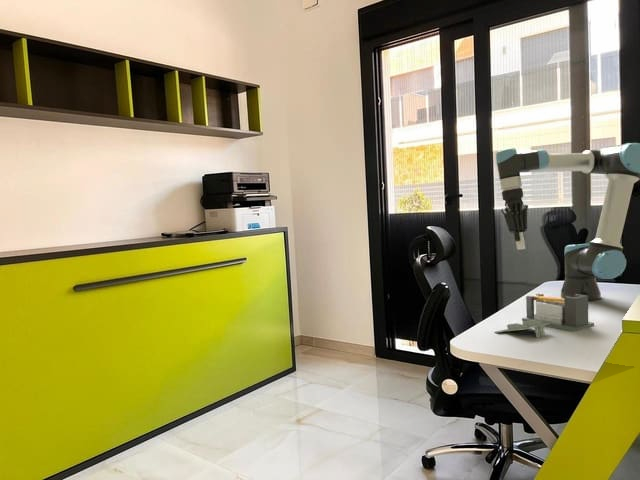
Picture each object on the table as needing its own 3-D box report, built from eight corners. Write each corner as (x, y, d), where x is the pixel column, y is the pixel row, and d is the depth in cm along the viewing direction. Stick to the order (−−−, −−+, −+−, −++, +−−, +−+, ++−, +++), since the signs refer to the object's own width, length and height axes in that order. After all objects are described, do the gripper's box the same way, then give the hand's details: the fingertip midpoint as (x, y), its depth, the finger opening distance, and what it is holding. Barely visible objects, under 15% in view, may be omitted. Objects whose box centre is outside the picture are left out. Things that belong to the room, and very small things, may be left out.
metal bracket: (555, 316, 157) (523, 323, 151) (560, 334, 156) (527, 342, 150) (521, 320, 170) (490, 327, 163) (525, 336, 169) (494, 344, 162)
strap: (533, 300, 175) (532, 296, 175) (538, 298, 177) (538, 295, 177) (573, 303, 162) (573, 299, 162) (579, 302, 163) (578, 298, 163)
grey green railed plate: (522, 320, 175) (522, 318, 175) (543, 315, 181) (543, 312, 181) (572, 331, 158) (572, 329, 158) (594, 325, 164) (594, 322, 164)
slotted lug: (564, 325, 163) (564, 296, 162) (577, 321, 166) (576, 294, 166) (575, 327, 160) (575, 298, 159) (588, 323, 163) (588, 295, 162)
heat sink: (524, 317, 176) (524, 296, 175) (541, 313, 180) (540, 293, 179) (561, 325, 163) (560, 302, 162) (577, 320, 167) (577, 298, 167)
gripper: (514, 189, 192) (524, 247, 192) (492, 192, 186) (502, 252, 186) (531, 185, 185) (540, 246, 185) (508, 188, 179) (518, 251, 179)
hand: (521, 249), depth 186 cm, fingers closed
